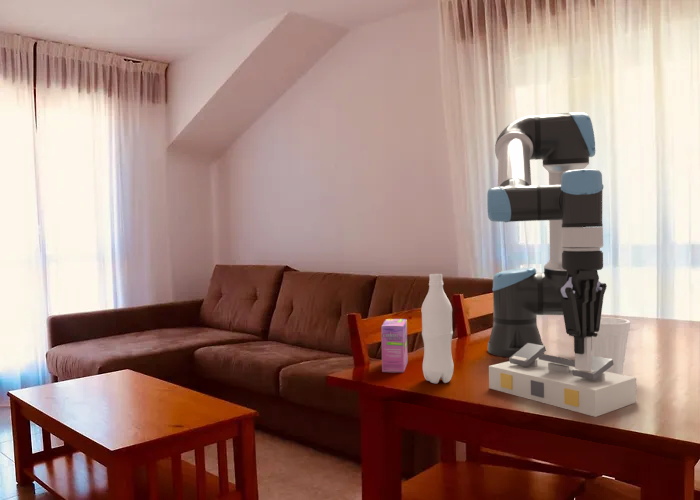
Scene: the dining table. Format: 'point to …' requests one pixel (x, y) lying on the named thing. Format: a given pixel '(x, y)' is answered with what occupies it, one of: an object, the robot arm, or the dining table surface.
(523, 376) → the console
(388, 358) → the box
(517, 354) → the switch
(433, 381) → the water bottle
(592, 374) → the switch
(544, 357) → the switch
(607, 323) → the cup
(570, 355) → the dining table surface
